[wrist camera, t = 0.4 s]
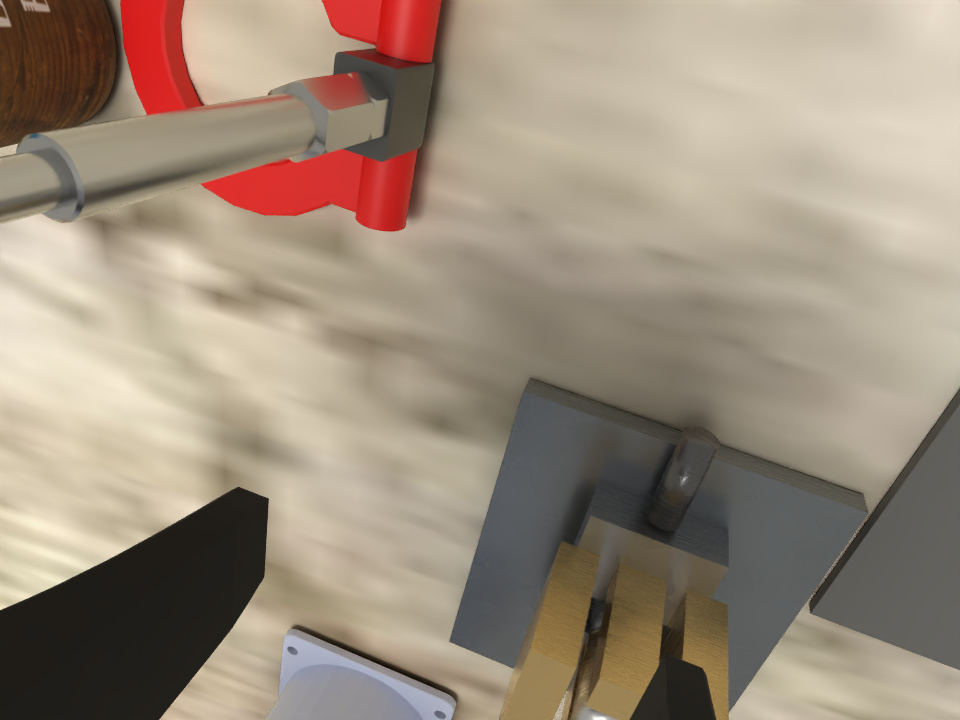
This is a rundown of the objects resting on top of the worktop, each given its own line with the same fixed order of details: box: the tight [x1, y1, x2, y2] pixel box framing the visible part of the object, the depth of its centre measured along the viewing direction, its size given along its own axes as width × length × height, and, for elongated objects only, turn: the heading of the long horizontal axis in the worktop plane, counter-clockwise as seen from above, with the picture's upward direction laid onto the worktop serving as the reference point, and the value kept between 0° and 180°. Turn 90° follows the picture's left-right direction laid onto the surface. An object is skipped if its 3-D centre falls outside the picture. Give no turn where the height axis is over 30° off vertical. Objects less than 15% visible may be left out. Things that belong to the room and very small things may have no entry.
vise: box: [449, 378, 868, 720], centre depth 21 cm, size 13×10×6 cm
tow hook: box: [0, 0, 442, 231], centre depth 14 cm, size 8×13×9 cm
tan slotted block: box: [499, 541, 729, 720], centre depth 20 cm, size 5×5×4 cm
